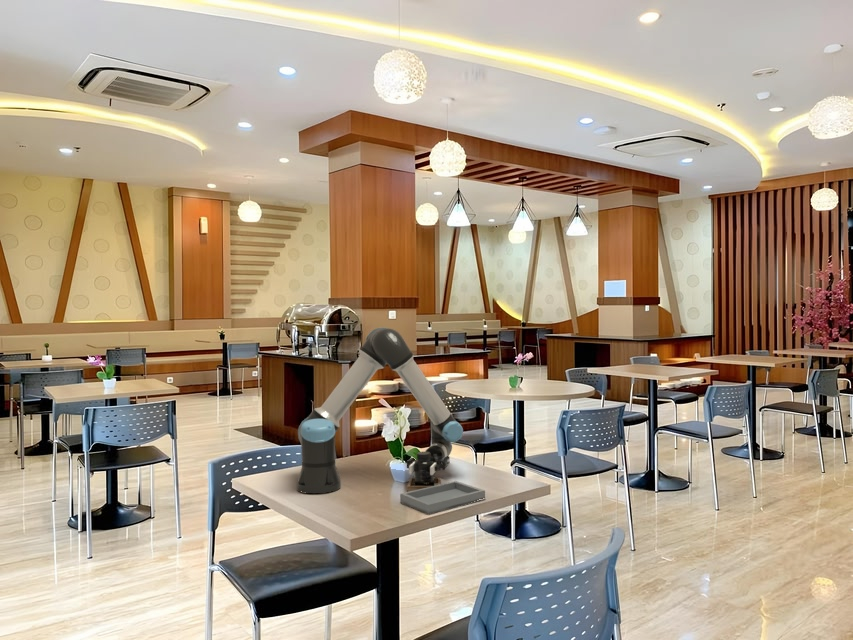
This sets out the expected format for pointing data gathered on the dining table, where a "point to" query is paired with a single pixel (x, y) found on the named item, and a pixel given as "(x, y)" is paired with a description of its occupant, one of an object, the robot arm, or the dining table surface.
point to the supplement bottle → (423, 470)
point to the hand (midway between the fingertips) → (420, 470)
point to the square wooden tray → (412, 488)
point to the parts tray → (441, 497)
